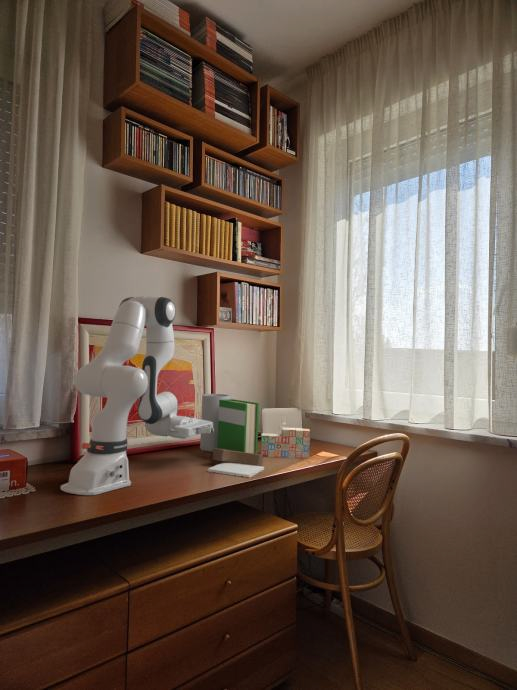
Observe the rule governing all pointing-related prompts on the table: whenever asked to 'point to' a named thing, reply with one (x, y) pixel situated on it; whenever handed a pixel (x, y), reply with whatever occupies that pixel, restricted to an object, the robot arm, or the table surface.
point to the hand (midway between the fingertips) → (212, 430)
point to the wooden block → (237, 457)
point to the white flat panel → (236, 469)
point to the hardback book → (238, 425)
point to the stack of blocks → (286, 443)
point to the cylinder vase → (211, 414)
